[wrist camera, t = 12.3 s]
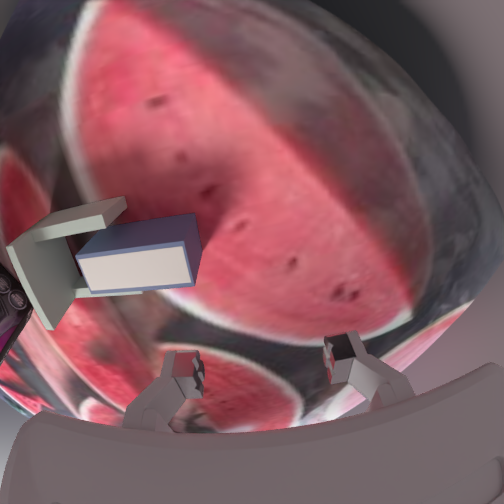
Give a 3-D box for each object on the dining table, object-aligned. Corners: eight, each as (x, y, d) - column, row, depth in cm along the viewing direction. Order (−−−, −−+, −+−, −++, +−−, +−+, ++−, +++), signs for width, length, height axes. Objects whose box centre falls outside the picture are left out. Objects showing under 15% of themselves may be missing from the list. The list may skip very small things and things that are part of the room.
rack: (148, 279, 28) (126, 331, 21) (76, 285, 28) (46, 329, 21) (124, 195, 23) (84, 229, 16) (49, 213, 23) (5, 247, 16)
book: (202, 250, 27) (194, 286, 21) (113, 261, 27) (91, 294, 21) (195, 212, 25) (183, 241, 19) (102, 227, 25) (74, 255, 19)
